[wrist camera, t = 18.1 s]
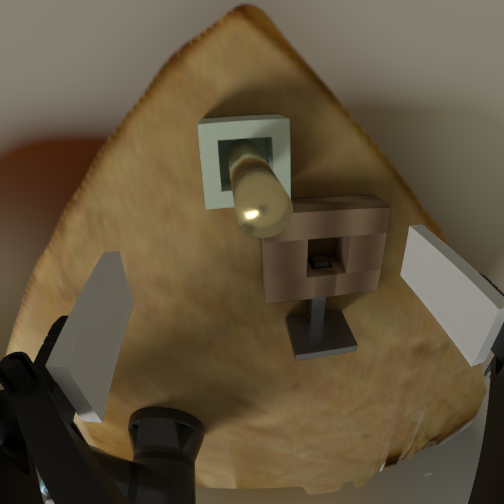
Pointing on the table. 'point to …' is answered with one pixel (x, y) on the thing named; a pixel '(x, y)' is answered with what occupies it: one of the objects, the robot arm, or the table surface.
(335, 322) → the grey t-shaped plug
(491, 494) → the robot arm
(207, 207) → the hollow square block
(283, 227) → the peg
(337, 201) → the socket block
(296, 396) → the table surface
